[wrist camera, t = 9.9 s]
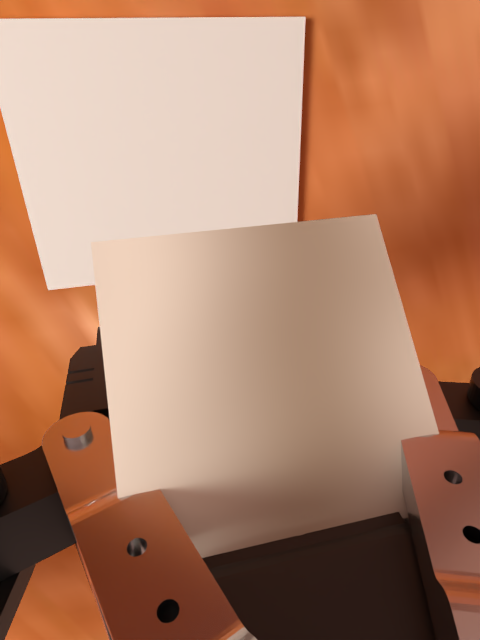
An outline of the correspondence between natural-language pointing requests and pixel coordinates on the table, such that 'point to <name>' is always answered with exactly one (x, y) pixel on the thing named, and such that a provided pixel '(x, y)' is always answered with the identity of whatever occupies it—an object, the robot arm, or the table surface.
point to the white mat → (150, 128)
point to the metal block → (259, 377)
